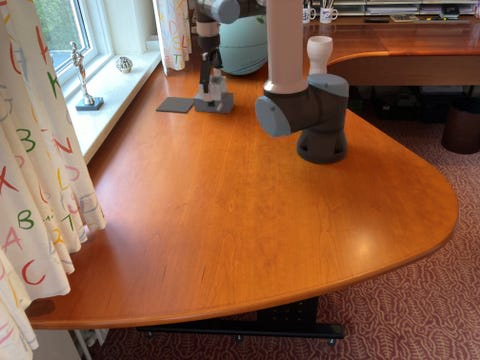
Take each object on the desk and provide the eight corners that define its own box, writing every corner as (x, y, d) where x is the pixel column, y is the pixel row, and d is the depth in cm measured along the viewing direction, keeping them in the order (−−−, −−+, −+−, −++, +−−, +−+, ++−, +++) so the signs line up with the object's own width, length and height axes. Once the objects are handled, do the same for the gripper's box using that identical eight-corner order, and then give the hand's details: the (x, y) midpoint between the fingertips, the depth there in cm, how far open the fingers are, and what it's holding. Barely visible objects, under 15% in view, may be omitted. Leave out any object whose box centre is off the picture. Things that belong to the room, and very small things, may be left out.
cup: (330, 79, 169) (333, 43, 160) (304, 78, 171) (306, 42, 162) (330, 70, 177) (333, 35, 169) (306, 69, 179) (308, 35, 171)
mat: (186, 113, 147) (186, 111, 147) (155, 111, 149) (155, 109, 149) (196, 100, 156) (196, 98, 156) (167, 98, 159) (167, 96, 159)
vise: (226, 118, 142) (224, 86, 135) (190, 116, 145) (187, 84, 138) (233, 105, 151) (232, 74, 144) (200, 103, 154) (197, 72, 147)
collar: (221, 100, 143) (220, 84, 140) (199, 99, 145) (198, 83, 141) (226, 91, 149) (226, 76, 146) (206, 90, 151) (205, 75, 148)
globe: (263, 88, 164) (263, 10, 146) (196, 81, 172) (188, 7, 155) (281, 64, 187) (283, -6, 169) (221, 59, 195) (216, -8, 178)
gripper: (208, 45, 124) (213, 108, 136) (229, 24, 143) (231, 80, 156) (185, 44, 125) (192, 107, 138) (208, 23, 145) (213, 79, 157)
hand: (213, 93), depth 147 cm, fingers open, 13 cm apart
